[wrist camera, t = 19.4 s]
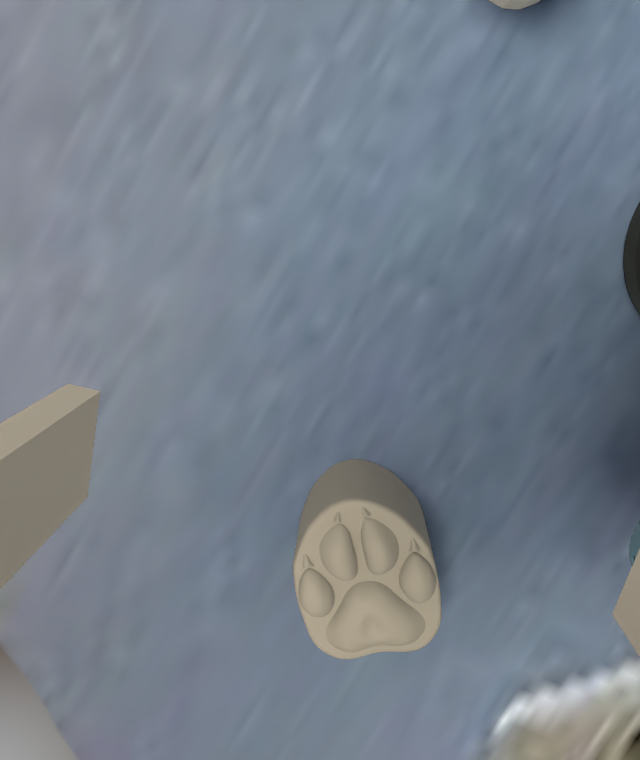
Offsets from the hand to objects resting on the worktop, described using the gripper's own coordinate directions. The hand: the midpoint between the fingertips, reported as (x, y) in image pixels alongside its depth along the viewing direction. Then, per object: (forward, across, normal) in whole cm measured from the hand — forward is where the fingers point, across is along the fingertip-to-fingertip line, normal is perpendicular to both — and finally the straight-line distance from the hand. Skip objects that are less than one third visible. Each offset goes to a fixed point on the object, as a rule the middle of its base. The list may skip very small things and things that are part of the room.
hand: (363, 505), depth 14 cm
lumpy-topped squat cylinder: (+32, +5, -18) cm, 37 cm away
